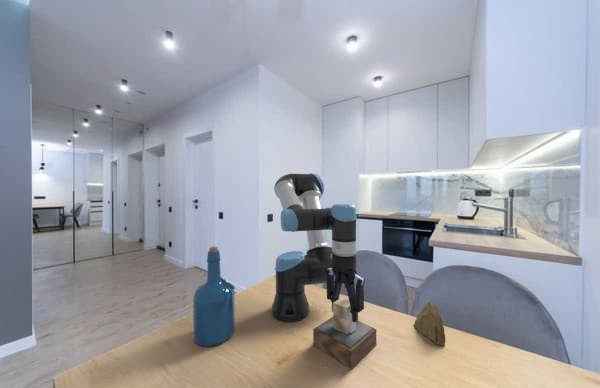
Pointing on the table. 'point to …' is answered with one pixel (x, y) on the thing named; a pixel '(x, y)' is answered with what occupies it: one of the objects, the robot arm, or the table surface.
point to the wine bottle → (213, 305)
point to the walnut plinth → (345, 342)
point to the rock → (431, 324)
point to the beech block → (341, 315)
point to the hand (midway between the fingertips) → (344, 326)
